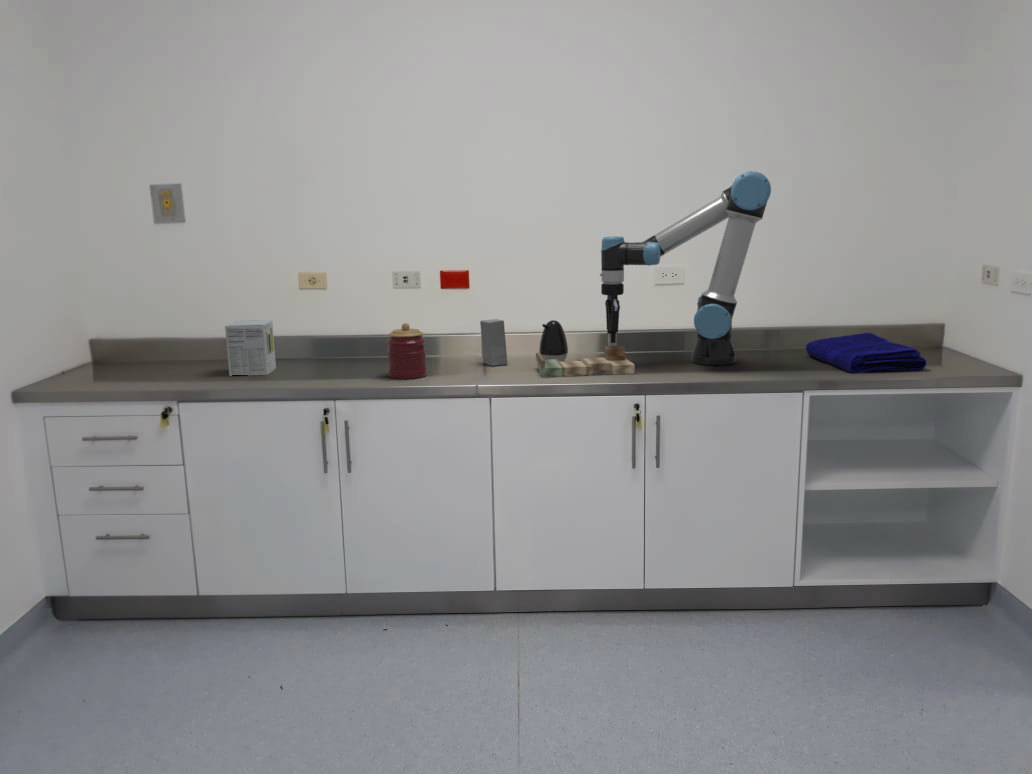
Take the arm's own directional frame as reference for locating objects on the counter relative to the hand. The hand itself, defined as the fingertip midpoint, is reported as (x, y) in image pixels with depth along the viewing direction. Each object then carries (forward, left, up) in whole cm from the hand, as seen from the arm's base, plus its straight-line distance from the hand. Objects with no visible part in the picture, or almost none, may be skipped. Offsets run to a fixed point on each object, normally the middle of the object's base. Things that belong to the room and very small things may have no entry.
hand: (612, 351), depth 283 cm
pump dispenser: (+19, -10, -5) cm, 22 cm away
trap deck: (+11, +8, -5) cm, 14 cm away
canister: (+70, +4, -5) cm, 70 cm away
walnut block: (0, +4, -2) cm, 4 cm away
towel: (-83, +13, -6) cm, 85 cm away
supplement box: (+124, -14, -5) cm, 125 cm away
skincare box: (+40, -12, -5) cm, 42 cm away
